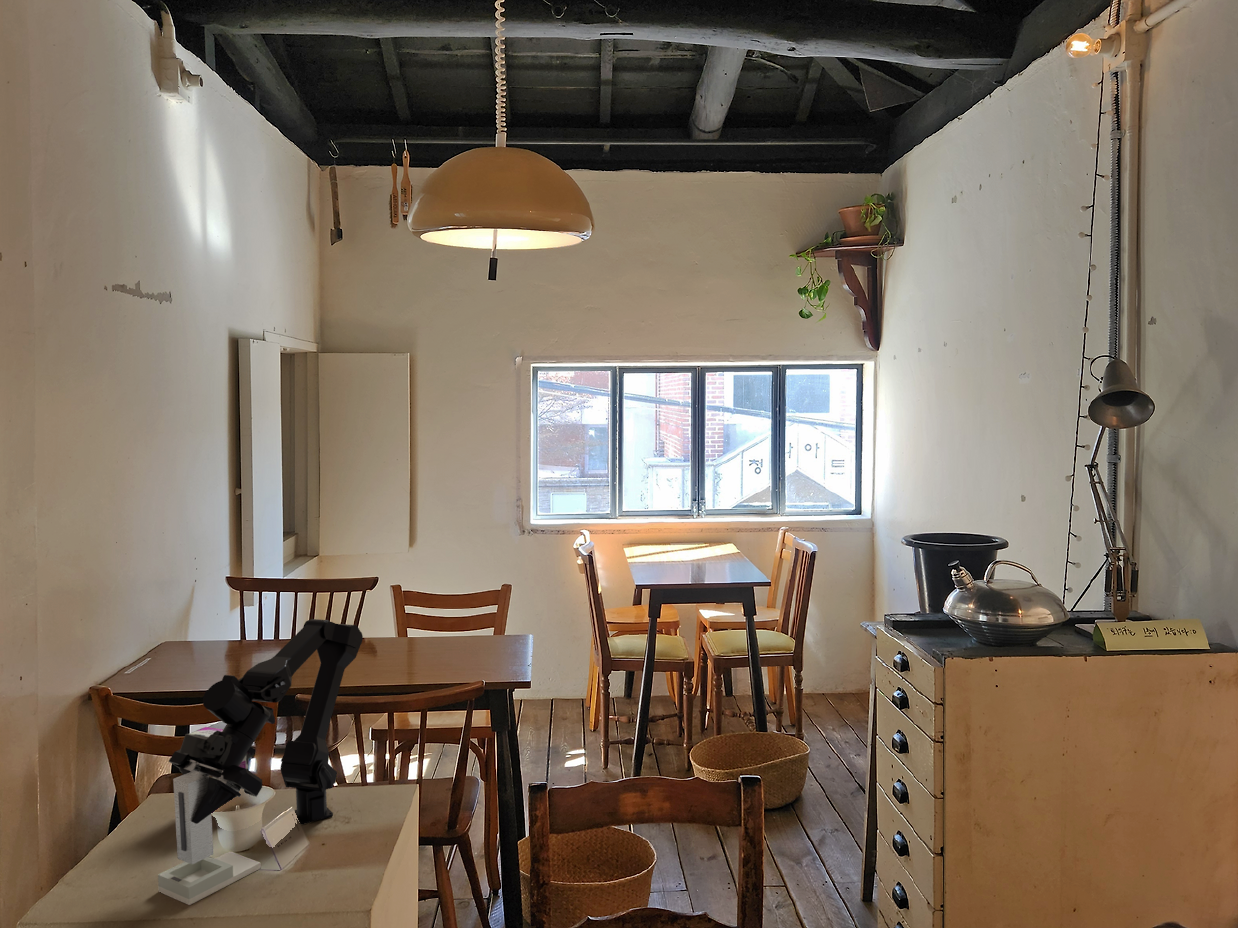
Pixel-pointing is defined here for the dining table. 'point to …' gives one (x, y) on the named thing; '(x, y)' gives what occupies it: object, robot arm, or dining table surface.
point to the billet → (191, 836)
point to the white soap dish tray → (204, 876)
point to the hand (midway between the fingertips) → (186, 819)
